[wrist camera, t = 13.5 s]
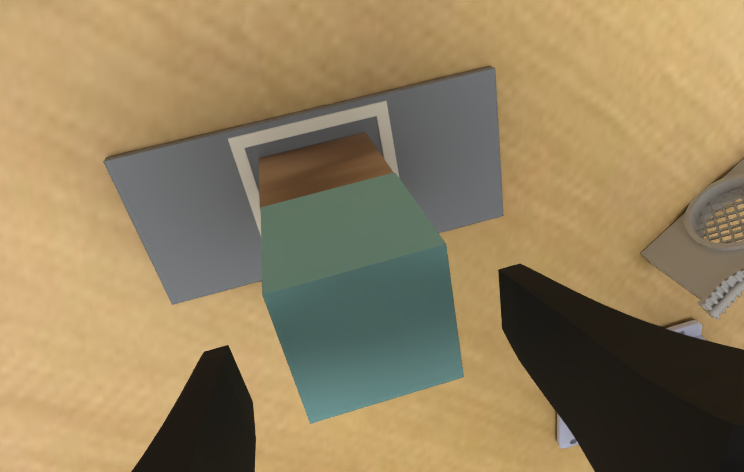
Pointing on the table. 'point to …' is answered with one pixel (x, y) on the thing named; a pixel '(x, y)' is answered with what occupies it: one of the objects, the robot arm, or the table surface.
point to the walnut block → (319, 168)
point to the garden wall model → (706, 246)
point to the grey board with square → (275, 135)
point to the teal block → (359, 295)
